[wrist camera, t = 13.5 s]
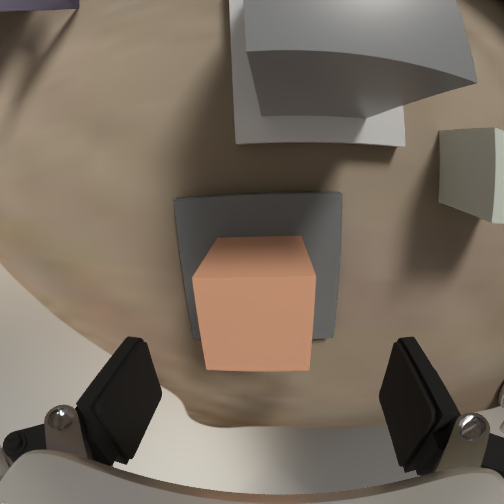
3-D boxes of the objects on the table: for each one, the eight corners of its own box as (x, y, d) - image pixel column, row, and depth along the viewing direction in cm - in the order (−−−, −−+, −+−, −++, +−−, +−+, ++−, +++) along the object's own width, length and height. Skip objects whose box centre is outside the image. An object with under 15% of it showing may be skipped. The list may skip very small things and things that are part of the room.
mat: (331, 331, 20) (333, 337, 19) (196, 333, 20) (193, 339, 20) (339, 191, 17) (342, 193, 16) (177, 197, 17) (173, 199, 17)
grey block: (484, 205, 16) (536, 225, 10) (437, 202, 16) (491, 222, 11) (486, 141, 14) (540, 145, 9) (438, 130, 15) (494, 127, 9)
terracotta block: (299, 309, 18) (309, 370, 13) (224, 310, 19) (206, 369, 13) (301, 235, 17) (315, 276, 11) (217, 237, 17) (191, 277, 11)
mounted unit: (397, 147, 15) (530, 151, 5) (238, 144, 16) (179, 121, 5) (375, -7, 12) (440, -95, 1) (230, -14, 12) (195, -125, 2)
